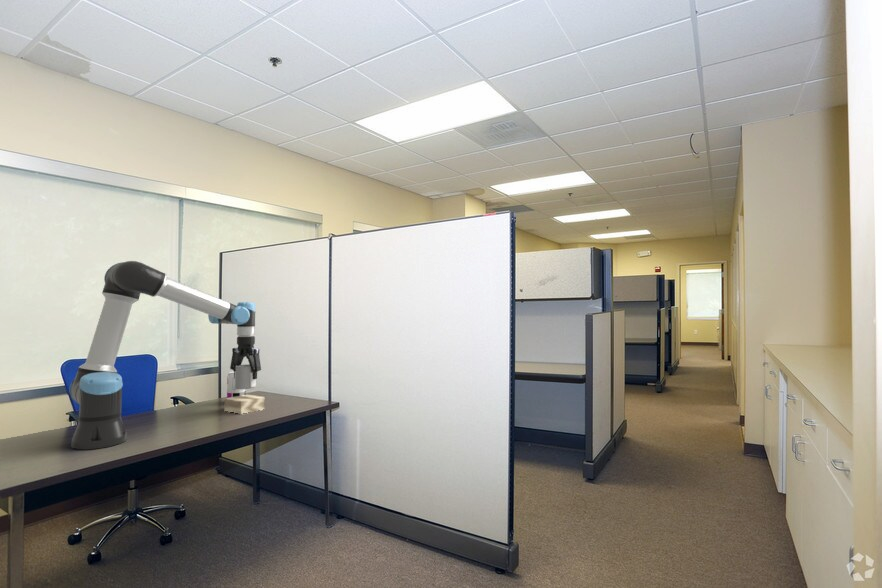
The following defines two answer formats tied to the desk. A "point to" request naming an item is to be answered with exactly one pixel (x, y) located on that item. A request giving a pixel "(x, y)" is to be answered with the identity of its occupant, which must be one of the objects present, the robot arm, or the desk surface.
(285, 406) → the desk surface
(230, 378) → the supplement can
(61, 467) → the desk surface
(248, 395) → the birch block
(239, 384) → the cup
